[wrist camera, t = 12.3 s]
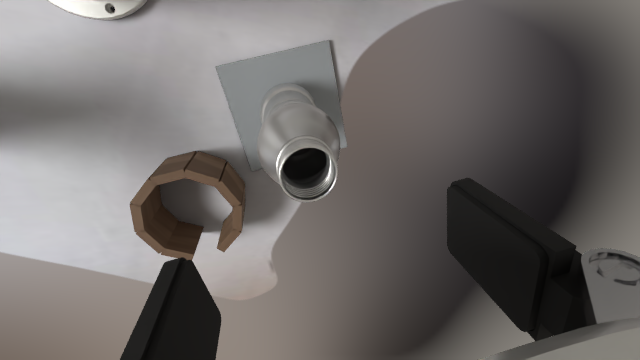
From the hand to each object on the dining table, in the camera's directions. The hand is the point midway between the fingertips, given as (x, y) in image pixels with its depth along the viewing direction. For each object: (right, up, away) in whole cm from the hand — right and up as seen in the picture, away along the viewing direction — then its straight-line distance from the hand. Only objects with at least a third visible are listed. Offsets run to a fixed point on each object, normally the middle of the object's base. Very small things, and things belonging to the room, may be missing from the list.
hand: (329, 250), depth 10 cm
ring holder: (-16, +1, +28) cm, 32 cm away
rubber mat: (-4, +11, +25) cm, 28 cm away
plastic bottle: (-4, +11, +25) cm, 27 cm away
